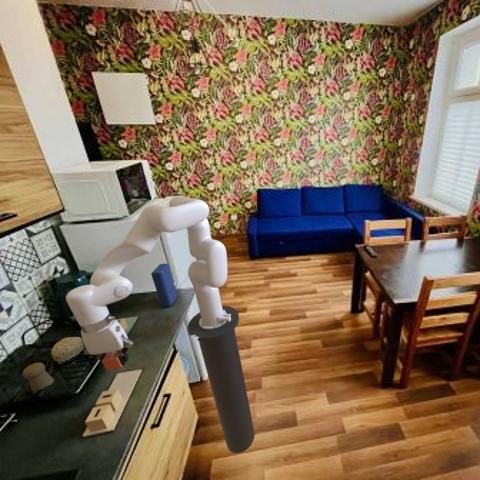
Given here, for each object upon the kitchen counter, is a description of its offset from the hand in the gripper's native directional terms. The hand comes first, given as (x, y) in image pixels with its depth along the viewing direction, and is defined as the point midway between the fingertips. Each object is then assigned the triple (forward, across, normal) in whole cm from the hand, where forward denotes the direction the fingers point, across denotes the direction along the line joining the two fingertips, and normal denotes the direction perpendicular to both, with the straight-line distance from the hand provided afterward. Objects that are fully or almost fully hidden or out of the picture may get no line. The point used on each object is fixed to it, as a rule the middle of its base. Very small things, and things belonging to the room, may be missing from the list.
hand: (116, 363), depth 91 cm
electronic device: (+11, -1, -48) cm, 50 cm away
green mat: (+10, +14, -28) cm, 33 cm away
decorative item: (+10, +27, -19) cm, 34 cm away
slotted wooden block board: (+10, +1, +7) cm, 12 cm away
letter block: (0, 0, 0) cm, 0 cm away
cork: (+9, +27, -4) cm, 29 cm away
